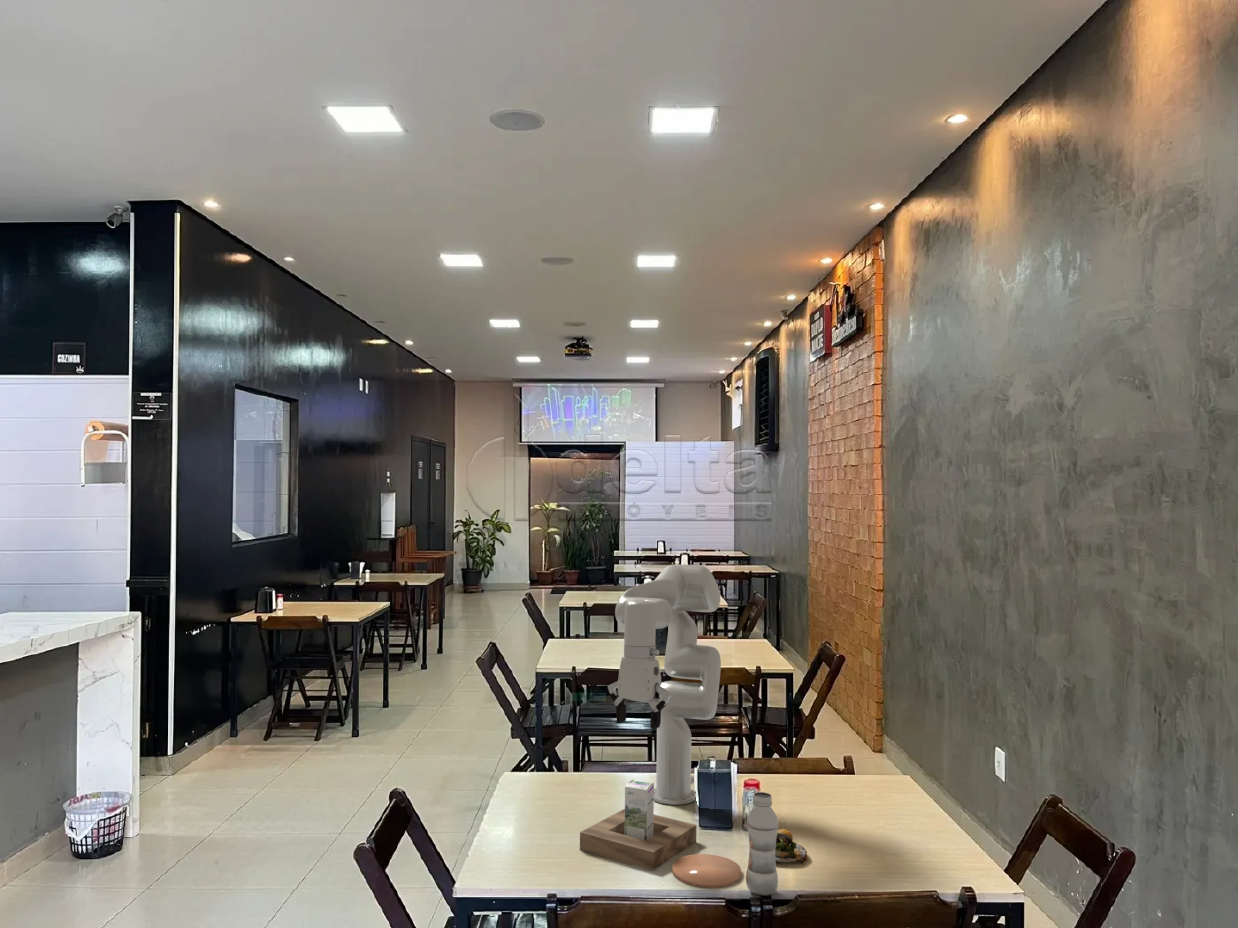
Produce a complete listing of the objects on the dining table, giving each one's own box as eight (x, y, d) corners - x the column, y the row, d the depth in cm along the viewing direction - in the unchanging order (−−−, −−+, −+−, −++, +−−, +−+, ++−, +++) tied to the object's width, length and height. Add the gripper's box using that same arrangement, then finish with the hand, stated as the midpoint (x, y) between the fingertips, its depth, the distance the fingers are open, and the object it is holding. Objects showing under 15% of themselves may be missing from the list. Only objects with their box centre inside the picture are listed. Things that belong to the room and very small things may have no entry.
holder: (626, 823, 215) (626, 807, 216) (696, 841, 204) (696, 824, 205) (579, 849, 199) (579, 832, 199) (653, 870, 188) (653, 852, 188)
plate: (692, 853, 198) (692, 848, 198) (752, 868, 189) (752, 864, 189) (659, 875, 185) (659, 871, 185) (721, 893, 177) (721, 888, 177)
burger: (744, 854, 198) (744, 821, 198) (779, 843, 205) (779, 811, 205) (783, 872, 188) (783, 838, 189) (818, 859, 196) (818, 826, 196)
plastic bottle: (753, 882, 182) (754, 787, 184) (783, 891, 179) (783, 793, 180) (740, 893, 177) (740, 795, 178) (770, 902, 173) (770, 802, 174)
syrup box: (654, 842, 203) (654, 780, 204) (646, 852, 198) (647, 788, 199) (631, 839, 205) (632, 778, 206) (623, 848, 200) (624, 785, 200)
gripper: (678, 654, 204) (677, 727, 202) (618, 647, 213) (616, 717, 212) (662, 657, 197) (660, 733, 196) (601, 650, 207) (599, 722, 206)
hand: (637, 724), depth 204 cm, fingers open, 9 cm apart
